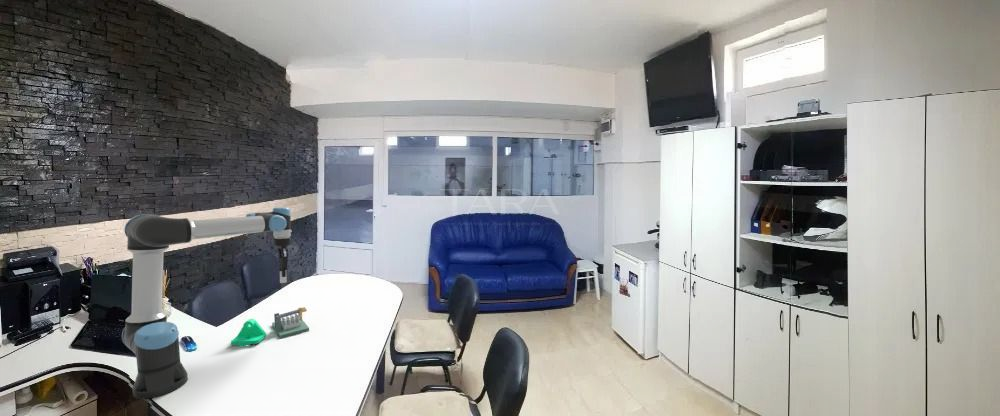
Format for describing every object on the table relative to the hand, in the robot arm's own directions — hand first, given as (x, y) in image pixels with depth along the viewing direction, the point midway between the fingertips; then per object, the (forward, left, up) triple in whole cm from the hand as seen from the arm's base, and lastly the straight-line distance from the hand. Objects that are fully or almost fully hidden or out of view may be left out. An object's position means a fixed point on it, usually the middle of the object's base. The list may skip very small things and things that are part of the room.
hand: (283, 282), depth 183 cm
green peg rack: (-2, -2, -25) cm, 25 cm away
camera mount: (-6, +17, -25) cm, 31 cm away
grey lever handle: (-2, -2, -17) cm, 18 cm away
